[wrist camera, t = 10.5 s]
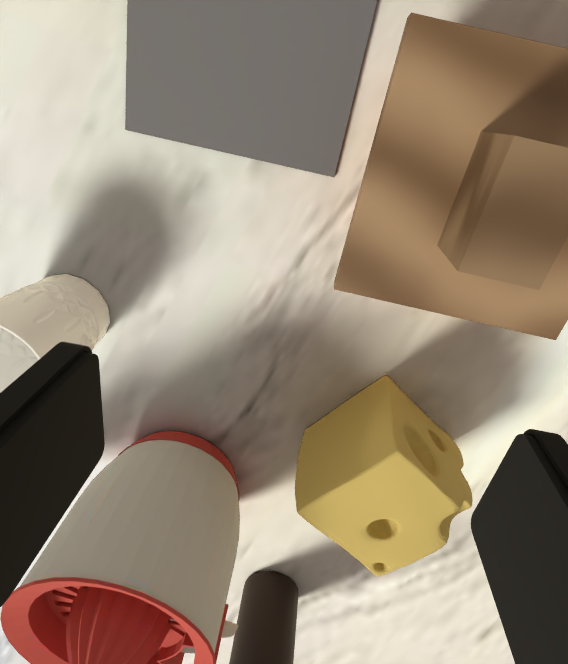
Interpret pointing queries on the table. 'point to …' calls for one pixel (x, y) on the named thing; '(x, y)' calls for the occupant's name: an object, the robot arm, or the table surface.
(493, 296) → the lid
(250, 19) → the mat
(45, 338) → the white cup
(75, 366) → the robot arm
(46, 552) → the citrus juicer
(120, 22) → the table surface
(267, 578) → the bottle
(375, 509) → the cheese
